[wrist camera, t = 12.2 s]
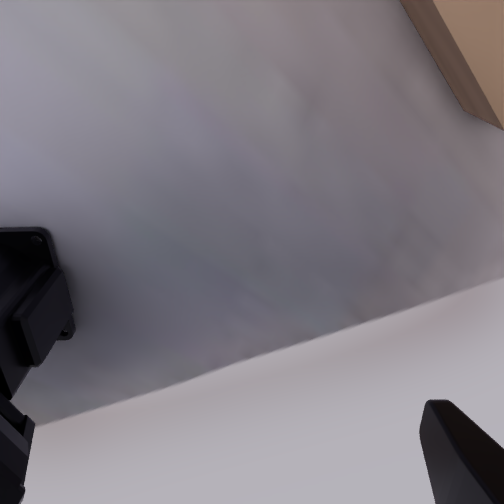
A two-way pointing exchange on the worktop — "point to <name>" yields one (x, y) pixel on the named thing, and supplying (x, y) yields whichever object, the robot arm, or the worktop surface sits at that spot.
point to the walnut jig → (466, 50)
